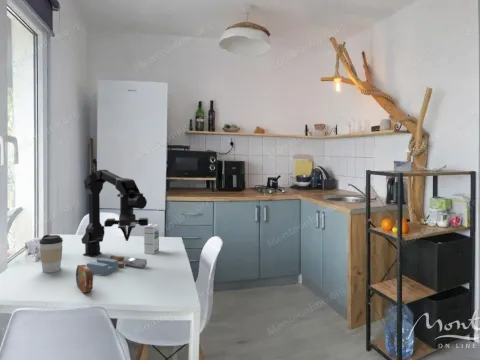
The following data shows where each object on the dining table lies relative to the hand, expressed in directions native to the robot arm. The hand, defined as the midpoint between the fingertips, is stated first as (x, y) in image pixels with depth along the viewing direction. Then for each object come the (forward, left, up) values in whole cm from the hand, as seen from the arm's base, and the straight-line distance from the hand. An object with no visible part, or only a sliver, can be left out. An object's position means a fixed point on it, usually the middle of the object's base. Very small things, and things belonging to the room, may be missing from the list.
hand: (127, 240), depth 157 cm
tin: (+3, -29, -12) cm, 31 cm away
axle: (+4, 0, -10) cm, 11 cm away
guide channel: (-6, 0, -12) cm, 13 cm away
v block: (-5, -10, -12) cm, 16 cm away
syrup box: (-2, +23, -12) cm, 26 cm away
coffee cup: (-25, -18, -12) cm, 33 cm away
